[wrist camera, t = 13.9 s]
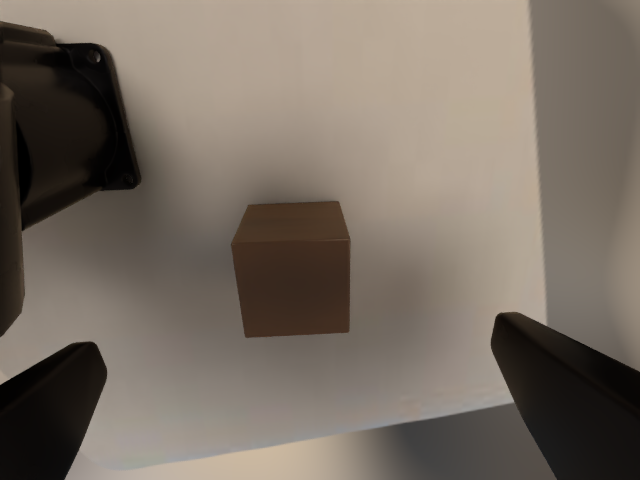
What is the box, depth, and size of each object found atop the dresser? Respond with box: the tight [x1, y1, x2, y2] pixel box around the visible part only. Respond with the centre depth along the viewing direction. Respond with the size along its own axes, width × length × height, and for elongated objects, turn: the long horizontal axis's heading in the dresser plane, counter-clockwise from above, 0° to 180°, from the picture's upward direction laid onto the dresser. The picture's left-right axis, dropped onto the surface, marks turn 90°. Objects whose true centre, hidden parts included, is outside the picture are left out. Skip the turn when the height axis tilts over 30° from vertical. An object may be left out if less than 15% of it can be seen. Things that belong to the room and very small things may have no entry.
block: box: [231, 201, 350, 338], centre depth 18 cm, size 5×5×5 cm
